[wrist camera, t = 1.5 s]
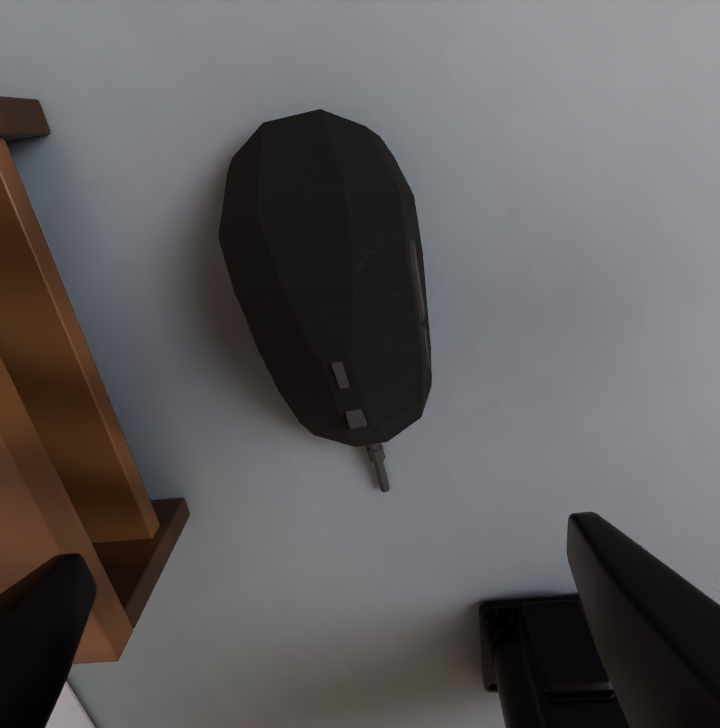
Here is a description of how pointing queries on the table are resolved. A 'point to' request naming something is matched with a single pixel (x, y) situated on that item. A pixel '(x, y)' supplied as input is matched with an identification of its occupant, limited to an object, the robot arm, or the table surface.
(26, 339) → the walnut wood stand
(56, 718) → the medicine bottle
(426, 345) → the gaming mouse
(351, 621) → the table surface
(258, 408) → the table surface
